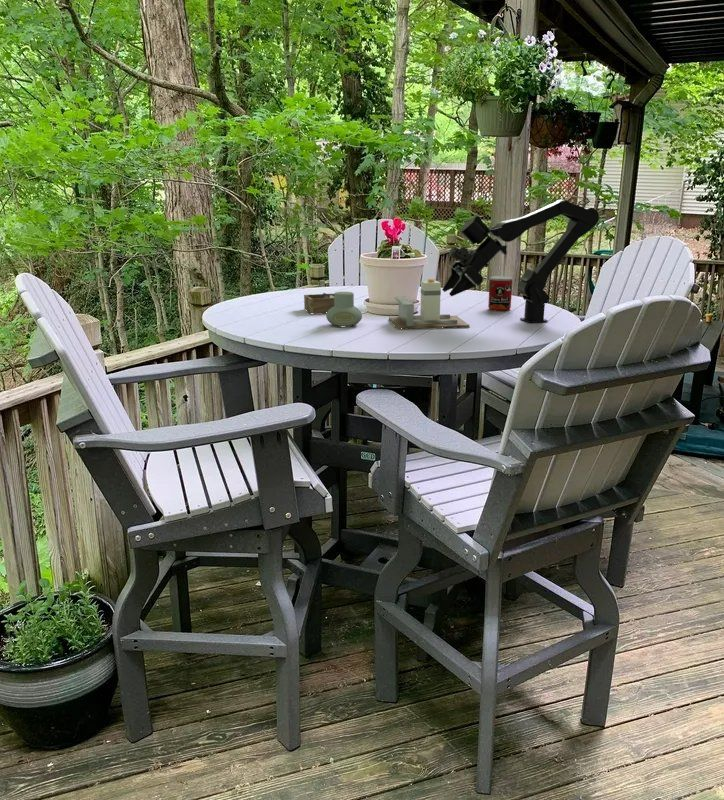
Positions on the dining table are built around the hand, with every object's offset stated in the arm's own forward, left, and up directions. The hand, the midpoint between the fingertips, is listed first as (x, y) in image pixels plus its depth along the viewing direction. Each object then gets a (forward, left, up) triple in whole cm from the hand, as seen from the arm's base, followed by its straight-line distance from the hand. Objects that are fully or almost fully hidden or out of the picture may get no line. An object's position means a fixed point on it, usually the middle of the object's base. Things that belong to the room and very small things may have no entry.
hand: (446, 293), depth 211 cm
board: (+1, +6, -9) cm, 11 cm away
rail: (+2, +13, -9) cm, 16 cm away
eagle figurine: (+33, +30, -10) cm, 45 cm away
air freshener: (+6, +31, -10) cm, 33 cm away
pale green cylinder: (+1, +5, -9) cm, 10 cm away
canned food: (+18, -28, -10) cm, 35 cm away
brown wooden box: (+33, +30, -9) cm, 46 cm away
